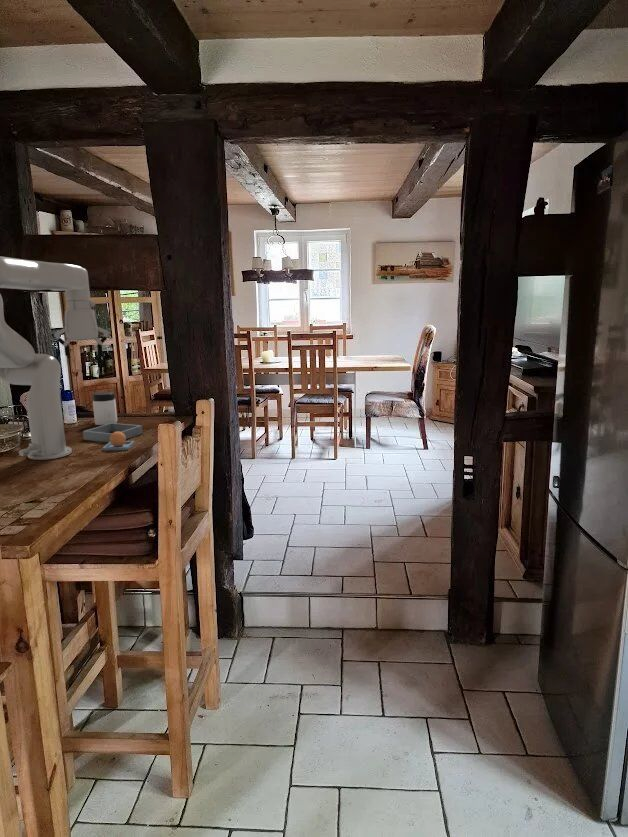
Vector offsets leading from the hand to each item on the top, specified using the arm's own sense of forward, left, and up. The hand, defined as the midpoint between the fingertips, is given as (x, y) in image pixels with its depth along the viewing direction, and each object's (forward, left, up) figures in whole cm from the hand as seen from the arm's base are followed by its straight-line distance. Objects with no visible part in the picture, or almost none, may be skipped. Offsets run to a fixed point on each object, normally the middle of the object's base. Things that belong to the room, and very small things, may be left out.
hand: (84, 357), depth 190 cm
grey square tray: (+3, -6, -28) cm, 29 cm away
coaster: (-8, -18, -28) cm, 35 cm away
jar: (+20, +12, -29) cm, 37 cm away
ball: (-8, -18, -28) cm, 34 cm away
